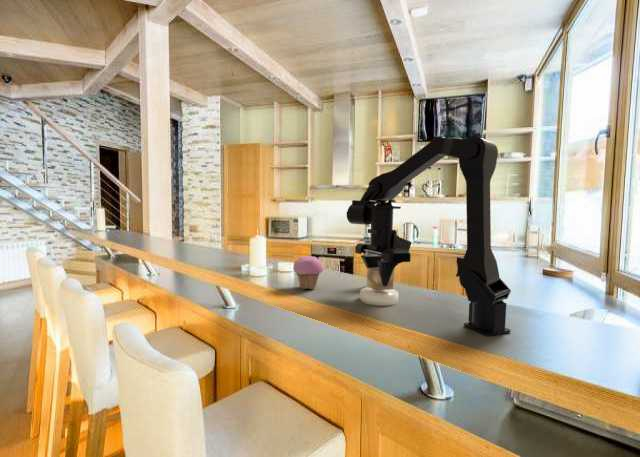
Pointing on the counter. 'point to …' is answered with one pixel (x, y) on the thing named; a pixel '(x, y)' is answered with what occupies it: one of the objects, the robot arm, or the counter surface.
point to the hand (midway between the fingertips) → (379, 283)
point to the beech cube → (377, 280)
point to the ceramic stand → (379, 297)
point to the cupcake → (308, 271)
